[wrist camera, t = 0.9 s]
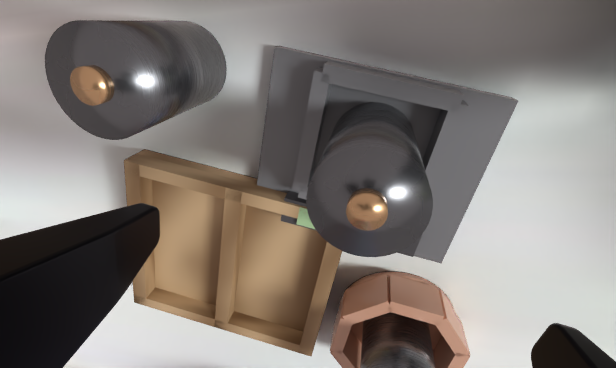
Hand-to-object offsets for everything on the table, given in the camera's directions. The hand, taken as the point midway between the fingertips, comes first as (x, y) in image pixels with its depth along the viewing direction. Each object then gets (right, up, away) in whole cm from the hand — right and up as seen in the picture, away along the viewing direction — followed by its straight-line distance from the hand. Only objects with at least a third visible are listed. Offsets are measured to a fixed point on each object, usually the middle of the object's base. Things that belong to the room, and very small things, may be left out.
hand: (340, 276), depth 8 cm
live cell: (+3, +4, +11) cm, 12 cm away
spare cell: (-7, +9, +11) cm, 16 cm away
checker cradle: (+3, +3, +12) cm, 13 cm away
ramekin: (+5, -7, +16) cm, 19 cm away
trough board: (-6, -3, +17) cm, 18 cm away
